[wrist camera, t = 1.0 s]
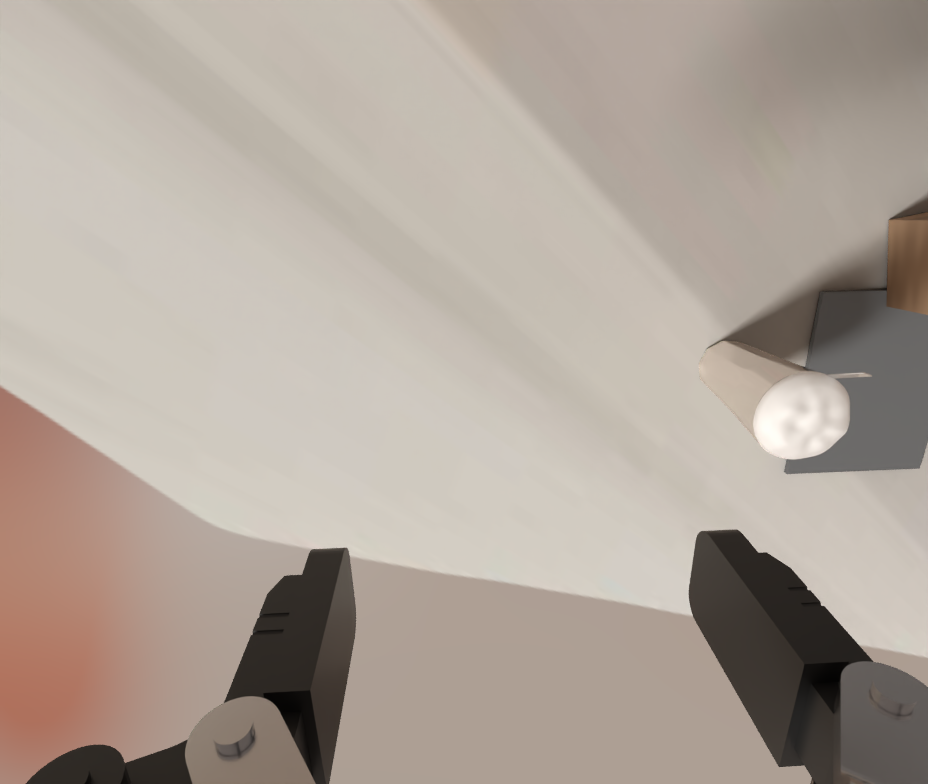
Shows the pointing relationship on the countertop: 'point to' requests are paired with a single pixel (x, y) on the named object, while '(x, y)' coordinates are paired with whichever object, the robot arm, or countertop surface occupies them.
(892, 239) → the walnut block
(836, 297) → the mat
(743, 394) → the milkshake
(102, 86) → the countertop surface
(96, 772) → the robot arm
